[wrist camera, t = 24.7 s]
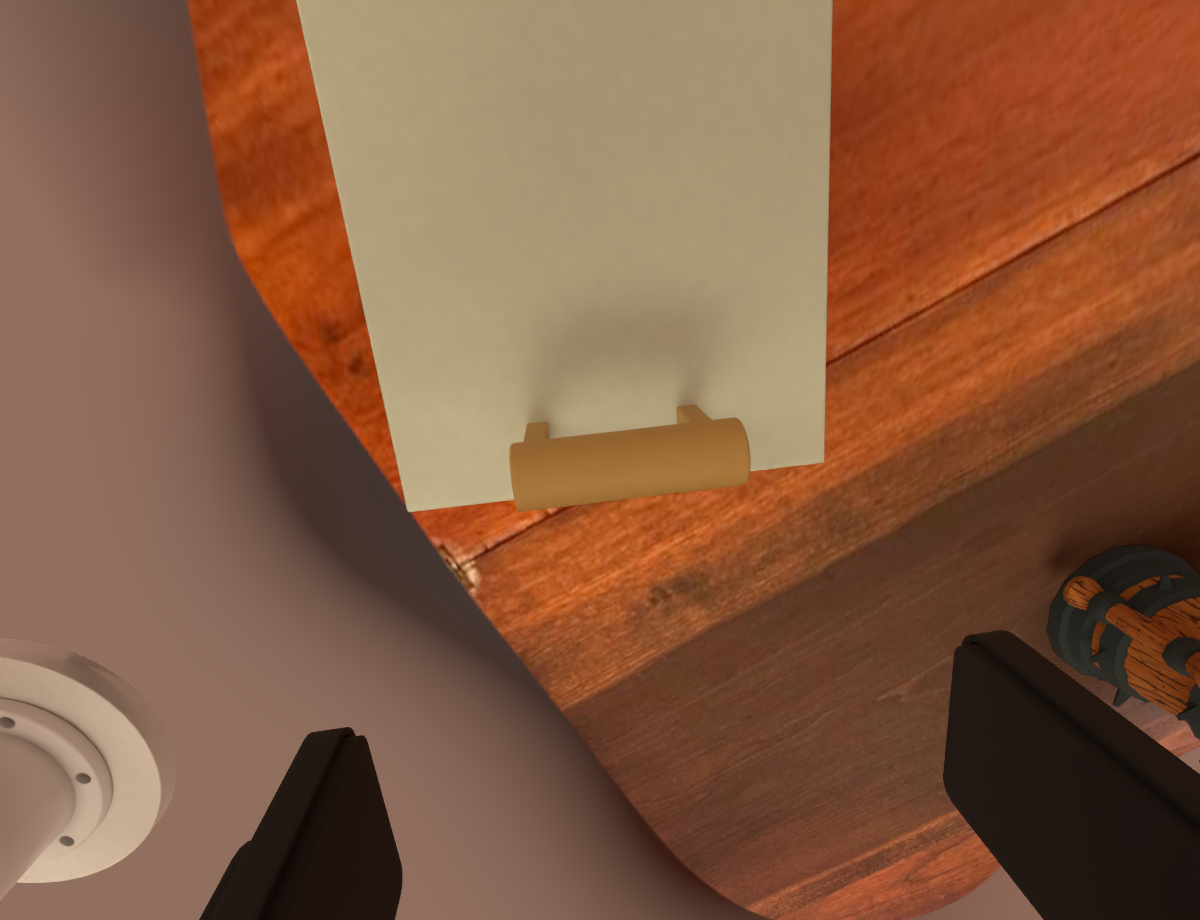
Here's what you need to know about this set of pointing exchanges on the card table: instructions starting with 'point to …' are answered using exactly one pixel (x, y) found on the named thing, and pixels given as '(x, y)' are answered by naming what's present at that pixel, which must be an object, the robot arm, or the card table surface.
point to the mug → (1134, 627)
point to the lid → (585, 237)
